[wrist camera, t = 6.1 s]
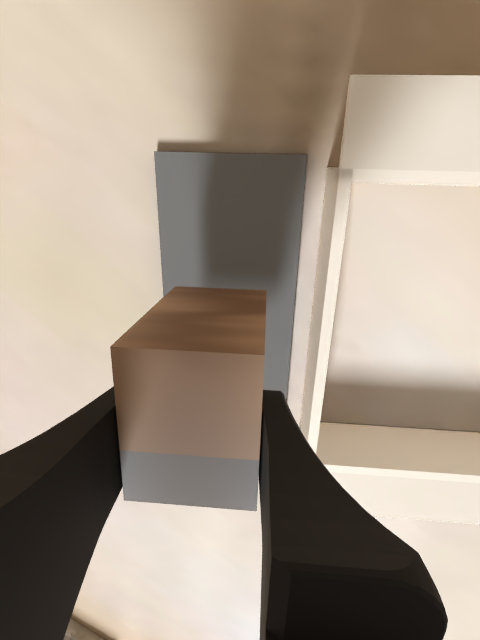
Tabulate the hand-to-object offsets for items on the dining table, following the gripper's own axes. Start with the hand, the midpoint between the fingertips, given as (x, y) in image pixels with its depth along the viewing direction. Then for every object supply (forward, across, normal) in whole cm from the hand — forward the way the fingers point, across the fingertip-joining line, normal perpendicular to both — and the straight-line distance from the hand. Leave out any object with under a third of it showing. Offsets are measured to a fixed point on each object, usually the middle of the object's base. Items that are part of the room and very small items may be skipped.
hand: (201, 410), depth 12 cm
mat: (+9, 0, 0) cm, 9 cm away
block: (+5, 0, 0) cm, 5 cm away
